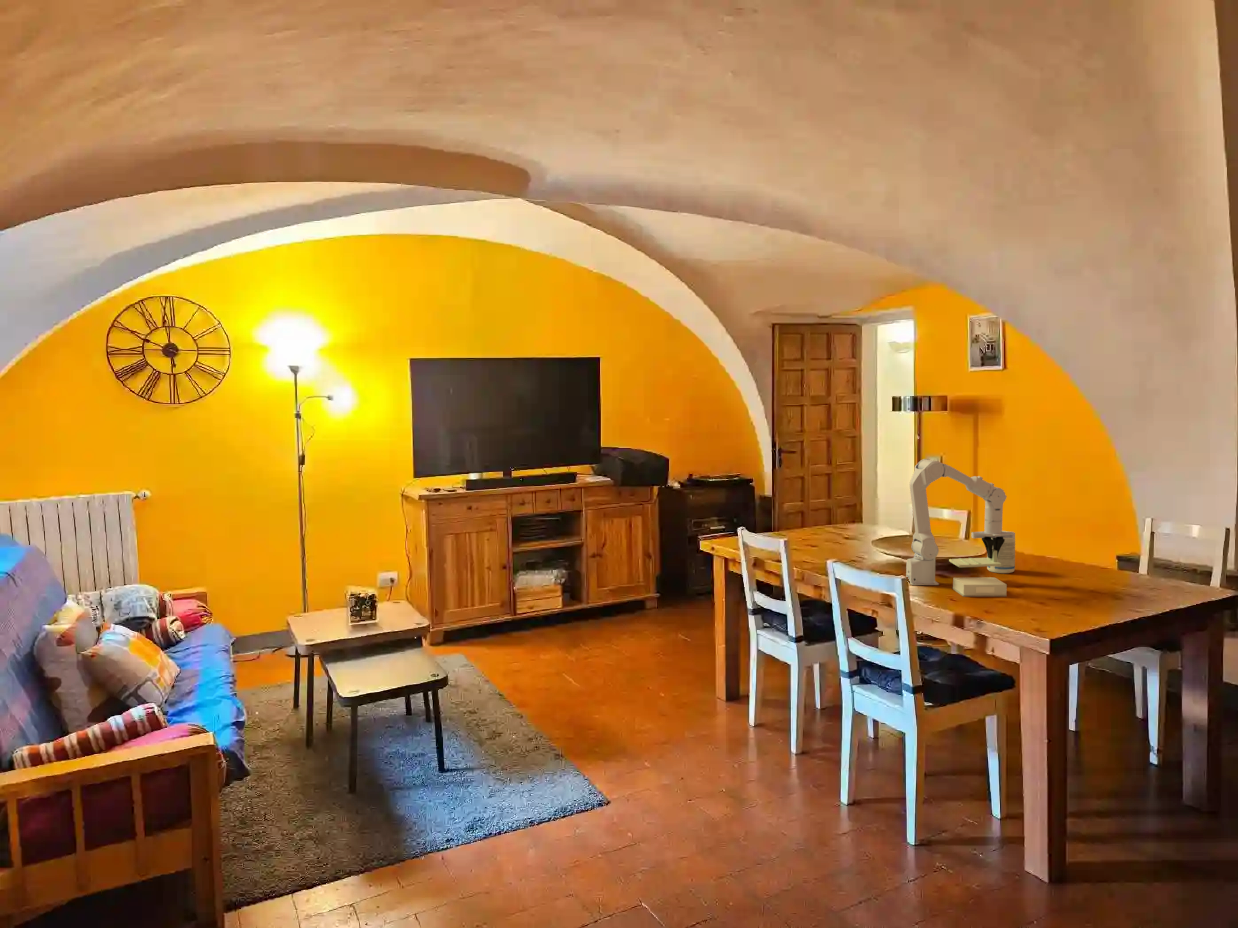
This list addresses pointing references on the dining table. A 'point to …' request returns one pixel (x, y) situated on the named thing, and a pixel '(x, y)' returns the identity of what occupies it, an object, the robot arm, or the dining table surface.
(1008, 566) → the supplement tub
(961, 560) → the lid
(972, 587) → the block
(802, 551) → the dining table surface
